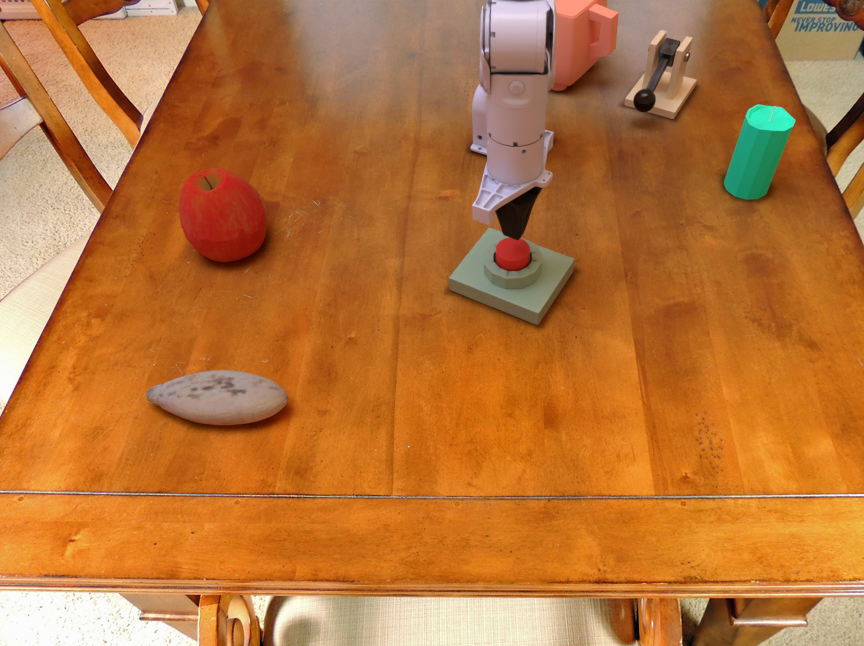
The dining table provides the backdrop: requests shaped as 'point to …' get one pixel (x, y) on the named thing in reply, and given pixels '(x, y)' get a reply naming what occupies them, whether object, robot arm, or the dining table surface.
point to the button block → (512, 278)
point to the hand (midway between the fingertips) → (513, 234)
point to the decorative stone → (220, 397)
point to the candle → (758, 151)
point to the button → (512, 254)
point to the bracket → (666, 79)
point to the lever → (656, 76)
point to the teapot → (582, 37)
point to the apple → (222, 215)
